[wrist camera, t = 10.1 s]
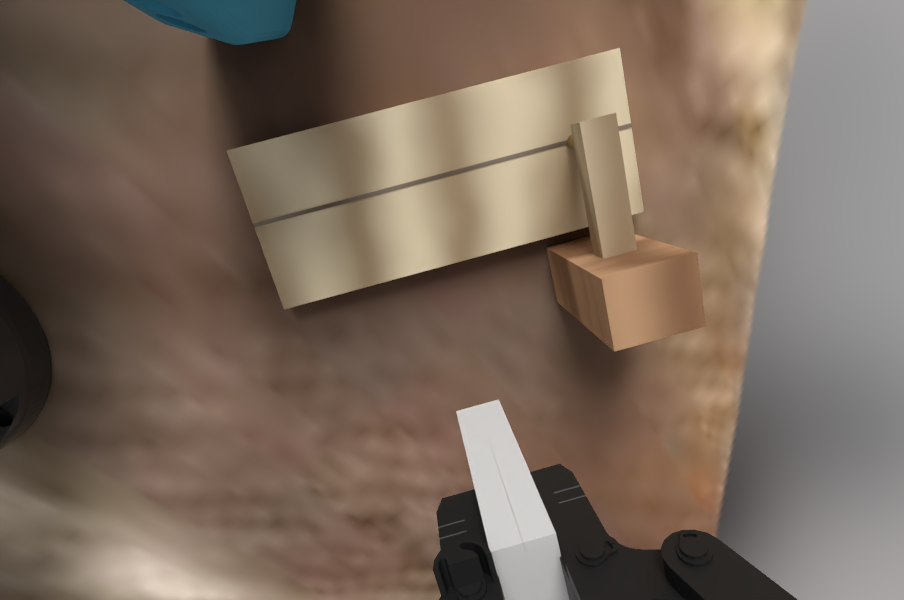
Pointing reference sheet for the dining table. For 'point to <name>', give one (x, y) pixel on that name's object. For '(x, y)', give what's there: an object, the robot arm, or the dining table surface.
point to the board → (429, 179)
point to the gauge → (621, 256)
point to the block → (224, 17)
